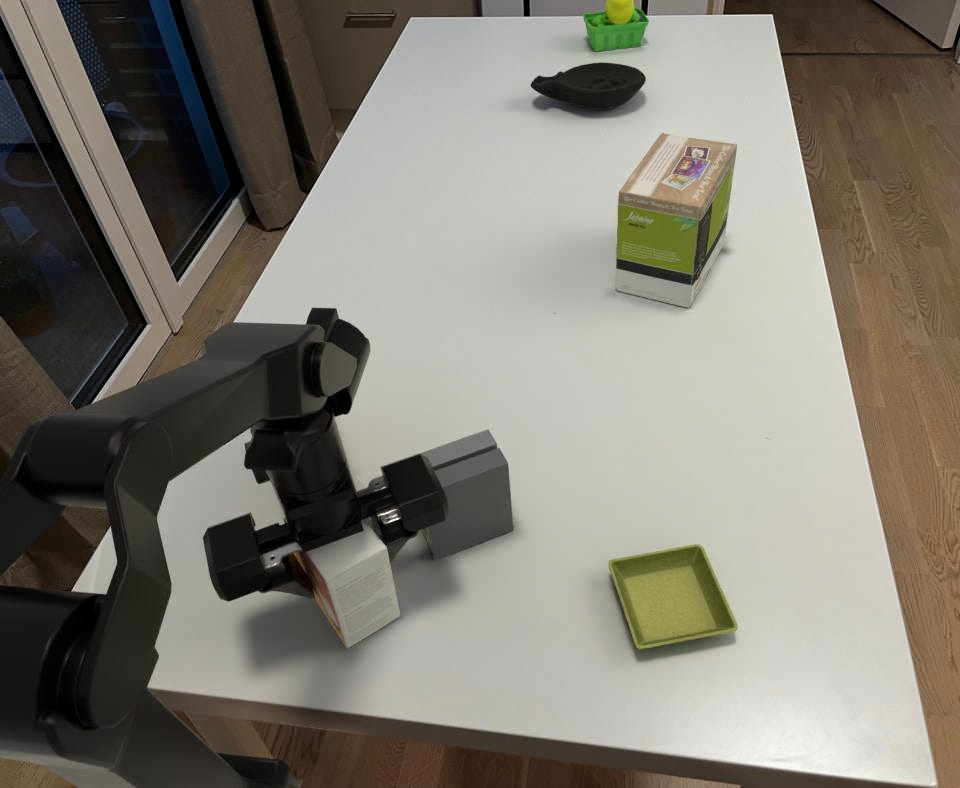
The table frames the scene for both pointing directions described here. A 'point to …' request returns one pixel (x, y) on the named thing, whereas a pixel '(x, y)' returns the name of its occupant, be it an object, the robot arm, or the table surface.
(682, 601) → the green square tray
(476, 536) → the grey grooved block
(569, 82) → the oil lamp
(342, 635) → the small box
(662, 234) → the tea box
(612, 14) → the fruit basket
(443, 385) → the table surface
